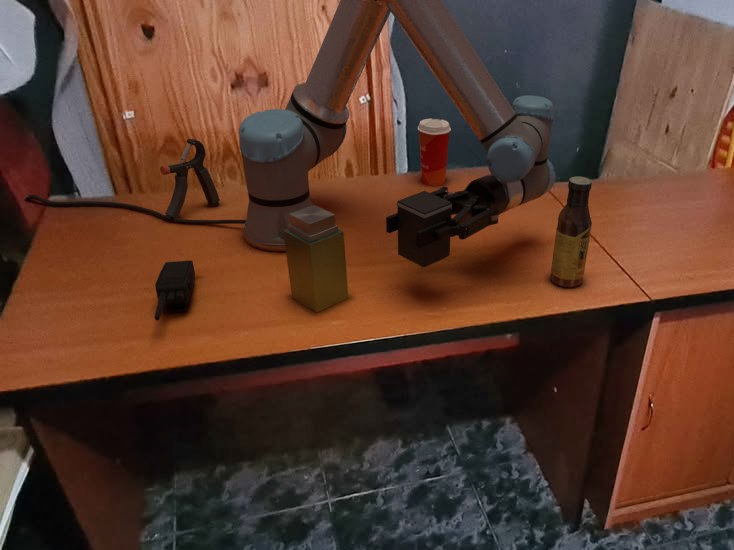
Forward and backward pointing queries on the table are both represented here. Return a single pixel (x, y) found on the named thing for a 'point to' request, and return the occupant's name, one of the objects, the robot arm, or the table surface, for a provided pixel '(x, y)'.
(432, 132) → the paper cup
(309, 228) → the olive square canister
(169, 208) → the hand grip strengthener
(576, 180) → the sauce bottle
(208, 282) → the table surface
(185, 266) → the walkie-talkie
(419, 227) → the dark lidded box
